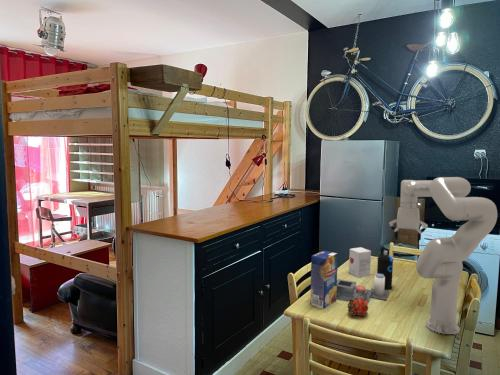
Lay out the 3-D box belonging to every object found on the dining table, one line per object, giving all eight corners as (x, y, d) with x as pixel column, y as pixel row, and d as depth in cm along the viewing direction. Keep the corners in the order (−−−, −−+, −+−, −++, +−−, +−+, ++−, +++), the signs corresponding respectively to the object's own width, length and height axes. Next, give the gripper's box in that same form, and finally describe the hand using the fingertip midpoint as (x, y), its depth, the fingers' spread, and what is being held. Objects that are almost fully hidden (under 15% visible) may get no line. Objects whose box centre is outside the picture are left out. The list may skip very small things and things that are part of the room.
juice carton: (324, 308, 174) (325, 258, 171) (310, 304, 179) (311, 255, 176) (336, 300, 183) (337, 253, 180) (323, 296, 188) (324, 250, 185)
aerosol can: (374, 288, 199) (376, 252, 197) (377, 283, 206) (378, 248, 204) (391, 291, 195) (392, 254, 193) (393, 286, 202) (394, 250, 200)
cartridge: (383, 296, 187) (384, 277, 186) (373, 294, 189) (373, 275, 188) (384, 292, 191) (385, 274, 190) (374, 291, 194) (375, 272, 192)
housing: (367, 304, 178) (367, 294, 178) (330, 297, 187) (330, 288, 186) (372, 294, 191) (372, 284, 191) (337, 287, 200) (337, 278, 199)
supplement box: (348, 272, 223) (349, 248, 222) (359, 270, 227) (360, 246, 225) (358, 277, 215) (359, 252, 213) (370, 275, 219) (371, 250, 217)
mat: (386, 300, 183) (386, 299, 183) (367, 297, 187) (367, 296, 187) (389, 292, 194) (389, 291, 194) (371, 289, 198) (371, 288, 198)
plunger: (364, 298, 180) (364, 289, 179) (354, 296, 182) (354, 288, 181) (366, 295, 184) (366, 286, 183) (356, 293, 186) (356, 284, 185)
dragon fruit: (347, 321, 165) (362, 317, 173) (362, 315, 160) (377, 311, 168) (340, 302, 169) (355, 299, 177) (354, 296, 163) (369, 293, 171)
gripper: (428, 205, 179) (427, 240, 181) (390, 203, 187) (389, 237, 188) (428, 207, 173) (427, 243, 174) (388, 205, 180) (387, 240, 181)
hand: (407, 240), depth 181 cm, fingers open, 9 cm apart
